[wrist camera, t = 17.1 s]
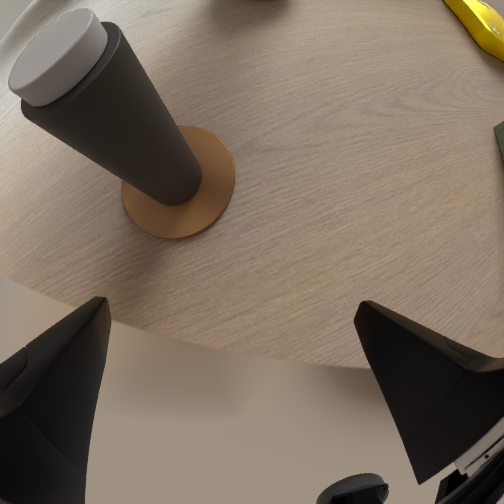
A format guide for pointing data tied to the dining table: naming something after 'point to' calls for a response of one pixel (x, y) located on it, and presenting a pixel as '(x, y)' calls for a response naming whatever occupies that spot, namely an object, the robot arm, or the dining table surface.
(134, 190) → the coaster
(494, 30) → the element tile
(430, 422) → the robot arm
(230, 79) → the dining table surface
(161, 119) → the salt mill
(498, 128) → the box
